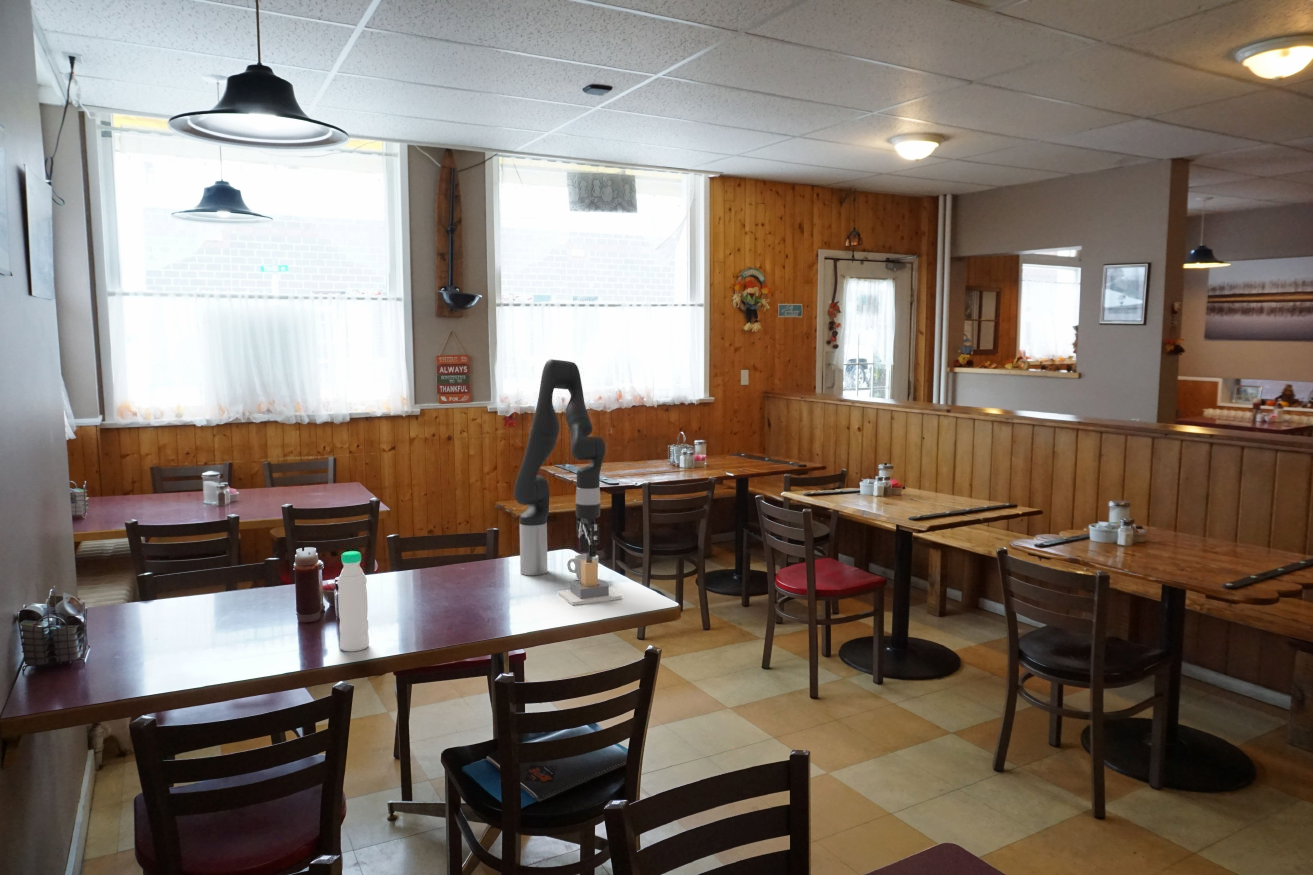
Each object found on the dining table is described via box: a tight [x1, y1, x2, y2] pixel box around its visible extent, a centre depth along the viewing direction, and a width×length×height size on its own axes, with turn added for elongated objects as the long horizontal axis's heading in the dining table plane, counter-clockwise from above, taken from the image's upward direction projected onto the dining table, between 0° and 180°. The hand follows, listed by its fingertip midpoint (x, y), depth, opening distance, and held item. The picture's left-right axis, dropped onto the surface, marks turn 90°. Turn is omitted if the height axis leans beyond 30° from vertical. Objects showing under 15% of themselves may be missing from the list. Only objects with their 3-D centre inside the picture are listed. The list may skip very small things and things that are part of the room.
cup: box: [567, 553, 599, 581], centre depth 289 cm, size 11×8×8 cm
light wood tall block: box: [581, 553, 599, 587], centre depth 269 cm, size 4×4×12 cm
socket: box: [557, 578, 622, 606], centre depth 269 cm, size 13×16×4 cm
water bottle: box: [337, 550, 370, 653], centre depth 222 cm, size 7×7×25 cm
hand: (587, 553), depth 268 cm, fingers open, 8 cm apart
